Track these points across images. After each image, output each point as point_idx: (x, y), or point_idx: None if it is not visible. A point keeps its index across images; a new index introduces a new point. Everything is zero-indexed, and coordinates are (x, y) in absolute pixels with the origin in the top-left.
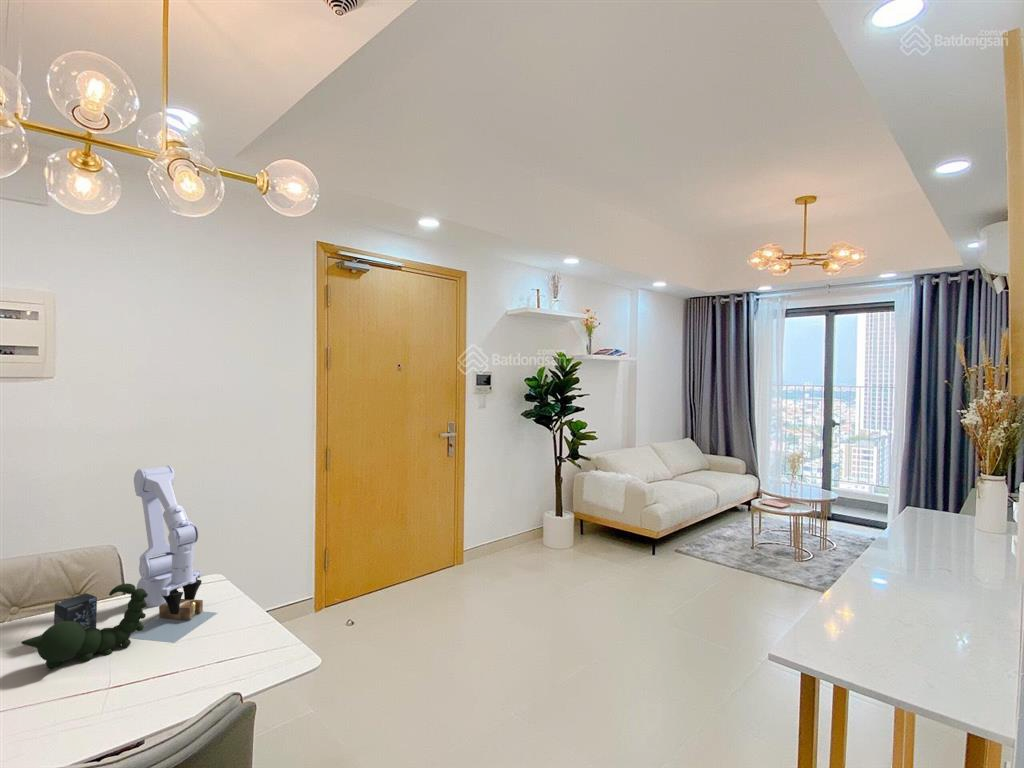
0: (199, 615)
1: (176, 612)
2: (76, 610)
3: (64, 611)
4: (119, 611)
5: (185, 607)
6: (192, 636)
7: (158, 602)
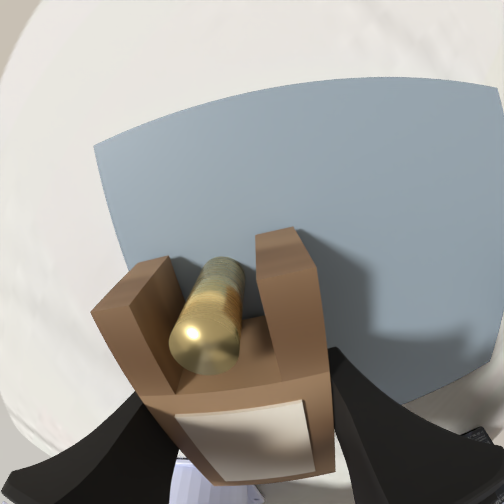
0: (185, 237)
1: (343, 356)
2: (500, 489)
3: None
4: (298, 500)
5: (316, 330)
6: (403, 55)
7: (227, 489)
